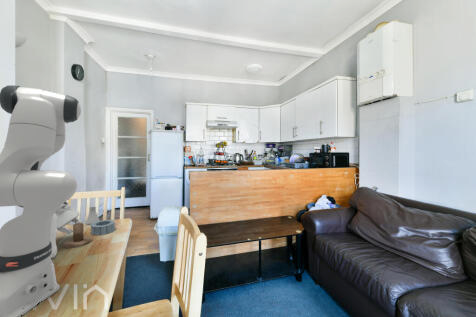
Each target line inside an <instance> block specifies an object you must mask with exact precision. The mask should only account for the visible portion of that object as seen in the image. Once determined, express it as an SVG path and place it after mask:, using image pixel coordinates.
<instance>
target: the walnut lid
mask: <svg viewBox="0 0 476 317" xmlns="http://www.w3.org/2000/svg"><path fill="white" fill-rule="evenodd" d="M72 230H73V232H72V238H68V239H67V240H65V241H63V247H64V248H66V249H75V248H79V247H83V246H86V245H89V244H90V243H91V242H92V241H93V236H91V235H84V234H85V233H84V222H81V223H76V224H75V223H74V224H72Z"/></svg>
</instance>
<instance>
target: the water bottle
mask: <svg viewBox="0 0 476 317" xmlns="http://www.w3.org/2000/svg"><path fill="white" fill-rule="evenodd" d="M57 235H58V231H57V216H56V214H55V213H54V215H53V217H52V220H51V226H50V242H51V244H52V253H51V255H50V256H51V259H54V258H56V255H57V253H58V247H57V243H56V240H57V239H56V238H57Z"/></svg>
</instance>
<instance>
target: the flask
mask: <svg viewBox="0 0 476 317" xmlns="http://www.w3.org/2000/svg"><path fill="white" fill-rule="evenodd" d="M96 208H97V206H91V207H89V213H88V216H87V218H86V221H85V225H87V226H91V224H92V223H94V222H97V221H101V220H100V218H99V216H98V214H97V210H96Z"/></svg>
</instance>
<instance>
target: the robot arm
mask: <svg viewBox="0 0 476 317" xmlns="http://www.w3.org/2000/svg"><path fill="white" fill-rule="evenodd" d="M0 107H1V109H2V110H4V111H5V112H6V113H7V114H11V116H10V119H9V123H8V129H7V133H6V138H5V141H4V145H3V148H2V150H1V152H0V207H19V208H23V209H22V213H21V214H20V215H18V216H16V217H14V218H12V219H10V220H8V221H6V222H5V223H4V224H2V226H1V227H0V317H22V316H23V315H25V314H26V313H28V312H29V311H31V310H32V309H33V308H35V307H37V304H38V303H39V302H40V303H42V302H44V300H46V299H47V298H50V296H52V295H53V294H55V293H56V292H58V291H59V290H60V284H59V283H58V281H57V277H56V270H55V264H54V262H53V260H52V258H51V256H50V255H51V253H52V244H51V242H50V226H51V220H52V217H53V215H54V213H55V214H56V216H57V232H58V231H59V232H61V233H65V234H66V235H68V236H69V235H71V234H73V229H72V228H67V227H66V226H67V225H68V224H70V223H71V222H72V223H74V224H76V223H82V222H81V221H80V219H79V216H81V215H80V212H79V211H78V210H77V209H76V208H75V207H73V206H72V205H70V202H68V200H70V199H71V198H72V197H73V196H74V195H75V193H76V191H77V187H78V183H77V180H76V178H75V176H74V175H73V174H72V173H70V172H67V171H62V170H61V171H60V170H52V169H45V170H44V169H41V167H42V165H43V164H44V163H45V162H46V161H47V160H48V159H49V158H50V157H51V156H54V155H55V154H56V153H59V151H61V150H62V149H63V148H64V145H65V143H66V124H69V123H74V122H76V121H78V119H79V117H80V116H81V112H82V108H81V105H80V101H79V100H78V99H77V98H75V97H73V96H71V95H68V94H67V95H64V94H62V93H58V92H55V91H54V92H53V91H49V90H45V89H41V88H34V87H25V86H20V85H6V86H4V87H2V88H1V89H0ZM41 301H42V302H41ZM40 303H39V304H40ZM39 304H38V305H39ZM21 315H22V316H21Z"/></svg>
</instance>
